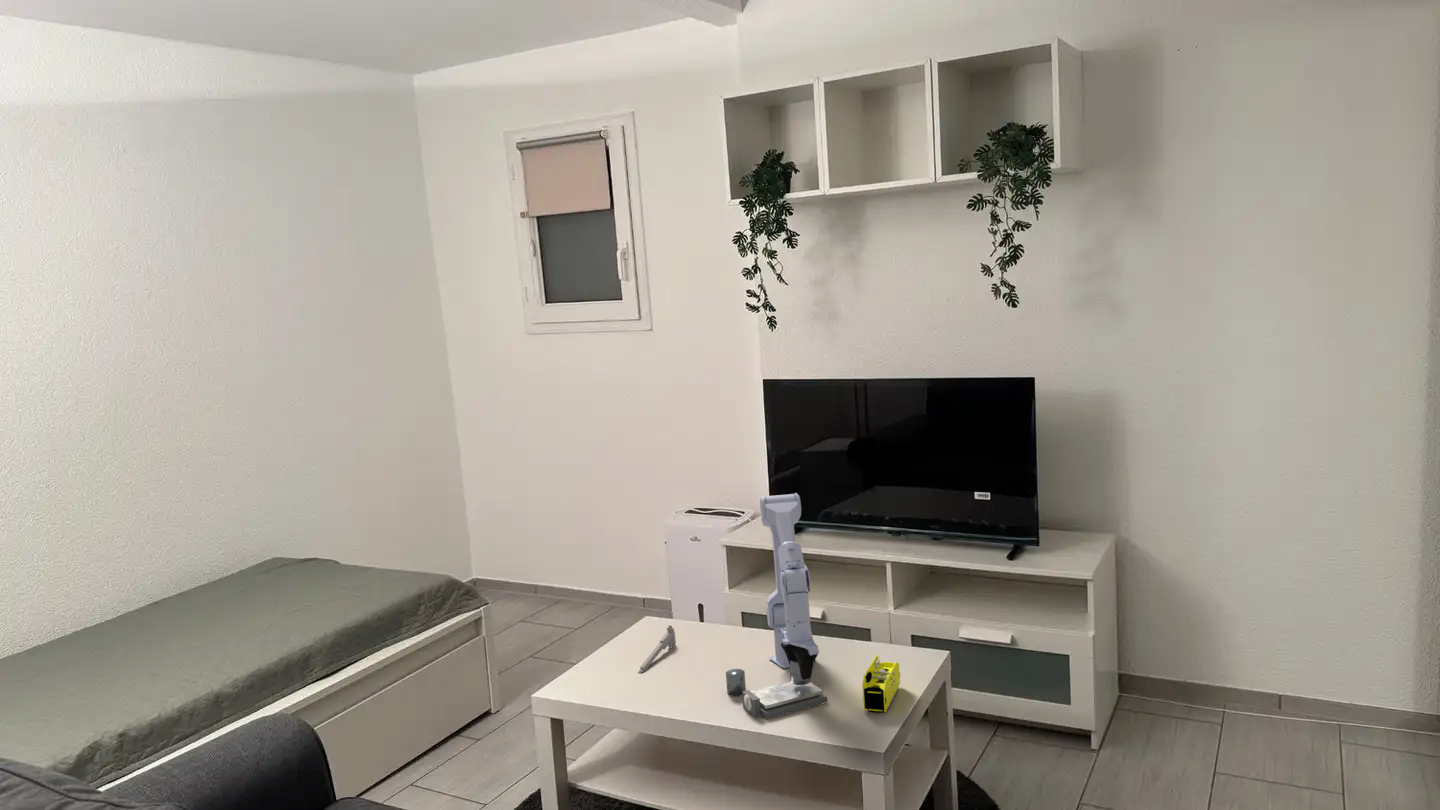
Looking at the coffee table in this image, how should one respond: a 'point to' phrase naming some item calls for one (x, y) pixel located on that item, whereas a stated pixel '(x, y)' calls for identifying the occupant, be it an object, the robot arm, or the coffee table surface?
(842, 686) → the coffee table surface
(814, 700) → the scale base
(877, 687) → the yellow toy chassis
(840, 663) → the coffee table surface
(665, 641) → the caliper
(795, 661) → the block
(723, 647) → the coffee table surface
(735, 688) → the cylinder
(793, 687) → the pan
